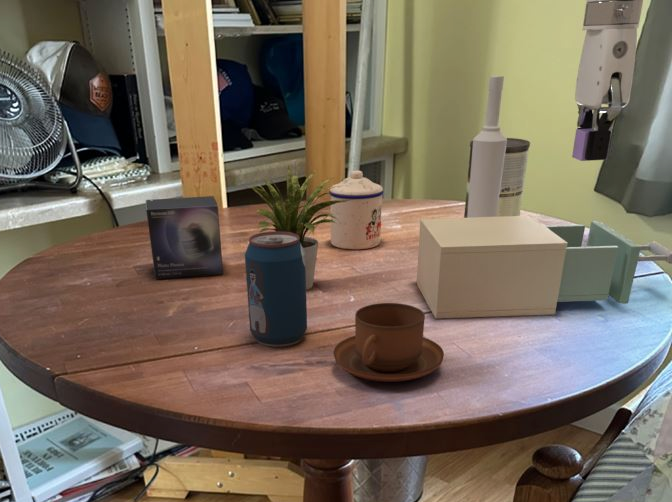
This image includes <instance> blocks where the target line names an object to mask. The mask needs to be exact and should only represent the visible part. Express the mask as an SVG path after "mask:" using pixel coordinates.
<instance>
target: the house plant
mask: <svg viewBox="0 0 672 502" xmlns="http://www.w3.org/2000/svg"><path fill="white" fill-rule="evenodd" d="M291 171H292V170H291V167H290V165H288V166H287V171H286V199H285V200H284V198H283V195H282V193H281V191H280V188H279V187H278V186H277V185H276V183H274V182H273V181H272V180H270V179H267V178H263V181H264V183H265V185H266V186H267V188H268V190H269V192H270V194H271V195H270V194H269V193H268V192H267V190H265V188H264V187H263V186H262V185H260V184H258V183H256V182H255V184H256V185H257V186H258V187H256V186H247V187H246V189H251V190H253V191H254V192H255V193H256V194H258V195H259V196H260V198H261V199H262V200H263V202H265V203H266V204H267V206H268V207H269V208H270V210H271V211H270V210H268V209H266V208H264V209H263V208H261V209H258V210H256V211H255V213H257V214H259V215H262V216H264V217H266V218H267V219H269V220H270V221H271V222H272V223H271V222H269V221H265V220H261V221H260V222H259V224H258V227H257V230H259V229H260V228H261V229H260V231H259V233H264V232H266V231H269V230H272V231H274V232H290V233H294V234H297V235H298V236H299V238H300V240H299V241H300V243H301V245H302V247H303V249H304V251H305V268H306V291H307V290H309V289H312V288H313V285H314V278H315V271H316V264H317V256H318V250H319V244H320V243H319V240H318V239H316V238H314V232H315V229H316V226H318V225H321V224H325V223H331V222H333V223H335V222H334V221H333V220H331V217H333V218H335V217H334V216H332V215H334V214H337V213H334V214H331V213H330V214H329V213H322V214H319V215H316V216H315V214H317V213H318V212H319V211H321V210H323V209H325V208H327V207H331V205H333V204H336V203H340V202H346V201H351V200H334V201H331V200H327V201H322V202H319V203H316V202H317V200H318V199H320V198H321V197H322V196H325V195H330V194H332V193H329V192H324V191H327V190H330V188H334V187H332V186H331V187H327V188H325V189H323V188H324V186H326V184H328V183H329V182H331V180H333V179H335V177H331V178H328V179H325V180H324V181H323V182H321V183H320V184H319V185H317V187H316V188H315V189H314V191H313V192H312V193H311V194H310V196H309V197H308V198H307V199H306V201H305V202H304V205H301V202H302V199H303V197H304V194H305V191H306V189H307V187H308V185H309V183H310V180H311V179H312V178H313V176H314V175H315V173H316V171H317V168H315V169H313V171H312V172H311V173H310V174H309V175H308V176H307V178H306V179H305V180H304V182H303V183H302V184H301V185H300V182H299V174H298V172H295V173H294V174H293V175H291V174H292V173H291ZM267 181H268V182H267ZM269 182H270V183H269ZM271 183H272V184H273V185H274V186H275V187H274V186H273V185H272V184H271ZM335 187H340V186H335ZM275 188H276V189H275ZM322 192H323V193H322ZM321 193H322V194H321ZM319 194H320V195H319ZM318 195H319V196H318ZM317 196H318V197H317ZM313 201H314V202H313ZM315 203H316V204H315ZM300 205H301V206H300ZM301 208H302V210H301V211H300V213H299V210H300V209H301ZM314 216H315V217H314ZM327 217H330V218H327ZM319 218H323V219H320V220H317V219H319ZM335 219H337V218H335ZM316 220H317V221H316ZM337 220H338V219H337ZM336 224H337V223H336ZM268 226H273V227H274V228H270V227H268ZM309 231H310V232H309ZM307 232H309V233H308V234H307ZM259 233H258V234H259ZM311 233H312V236H313V237H309V235H311ZM306 234H307V235H306Z"/></svg>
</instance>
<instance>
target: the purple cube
mask: <svg viewBox="0 0 672 502" xmlns="http://www.w3.org/2000/svg"><path fill="white" fill-rule="evenodd" d="M589 131H592V129H577V128H576V129H575V135H574V141H573V147H572V148H573V149H572V156H571V157H572V159H576V160H578V161H581V162H591V161H592V160H586V159H585V153H586V147H587V141H588V134H589ZM612 133H613V130H612V131H611V134H612ZM611 137H612V135H611V136H610V139H611ZM610 144H611V140H610V141H609V145H610ZM609 149H610V146H609V147H608V151H609ZM608 155H609V152H608V153H607V158H606V159H605V160H604V161H607V160H608Z"/></svg>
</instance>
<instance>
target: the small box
mask: <svg viewBox="0 0 672 502" xmlns="http://www.w3.org/2000/svg"><path fill="white" fill-rule="evenodd" d="M218 207H219V206H218V202H217V200H216V198H215V196H213V195H210V196H207V195H206V196H190V197H173V198H156V199H155V198H154V199H146V200H145V212H146V218H147V226H148V234H149V241H150V249H151V257H152V263H153V272H154V278H155V280H162V279H177V278H188V277H189V278H190V277H202V276H203V277H205V276H221V275H224V267H223V253H222V243H221V228H220V217H219V208H218Z"/></svg>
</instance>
